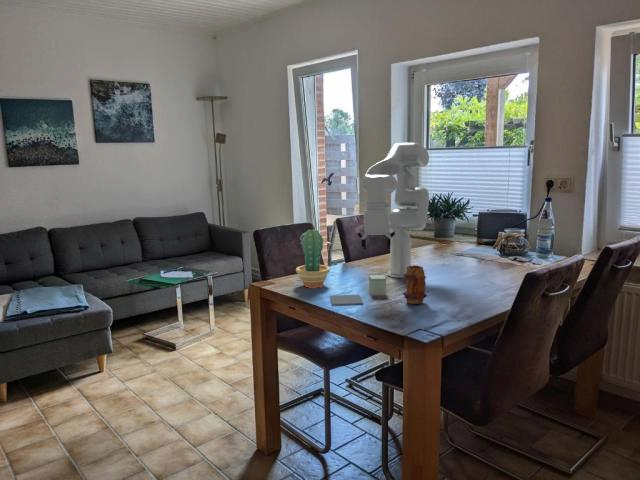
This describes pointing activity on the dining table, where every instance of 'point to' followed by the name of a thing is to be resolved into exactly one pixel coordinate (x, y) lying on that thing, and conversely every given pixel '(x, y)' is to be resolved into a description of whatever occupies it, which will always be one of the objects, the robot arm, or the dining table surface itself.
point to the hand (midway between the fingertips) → (376, 248)
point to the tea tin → (377, 285)
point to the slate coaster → (346, 300)
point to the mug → (415, 285)
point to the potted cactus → (312, 260)
